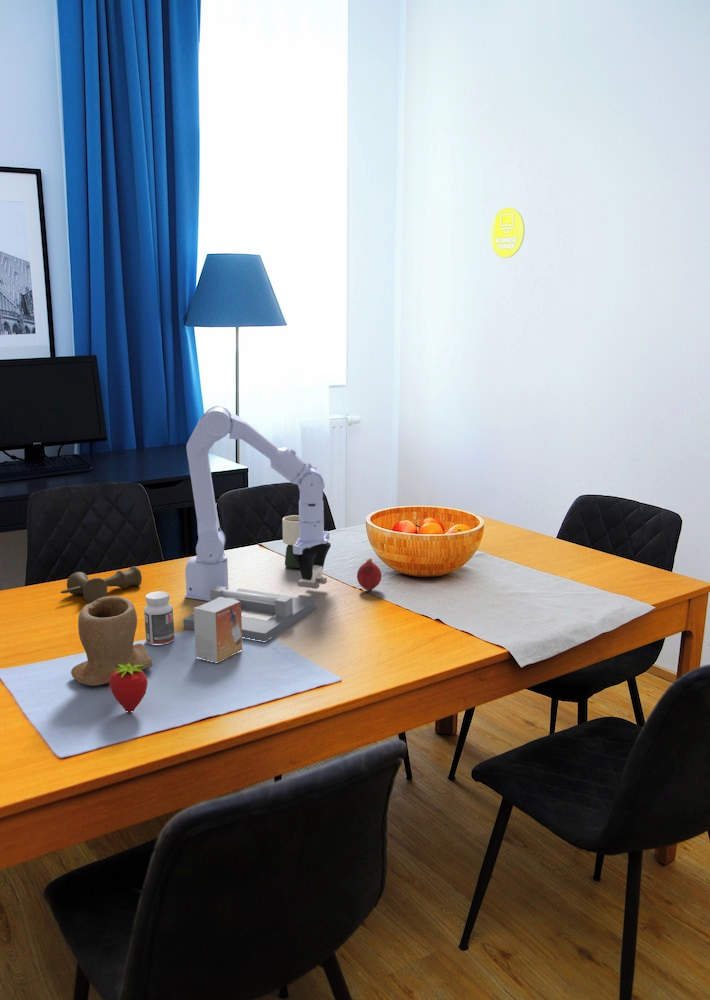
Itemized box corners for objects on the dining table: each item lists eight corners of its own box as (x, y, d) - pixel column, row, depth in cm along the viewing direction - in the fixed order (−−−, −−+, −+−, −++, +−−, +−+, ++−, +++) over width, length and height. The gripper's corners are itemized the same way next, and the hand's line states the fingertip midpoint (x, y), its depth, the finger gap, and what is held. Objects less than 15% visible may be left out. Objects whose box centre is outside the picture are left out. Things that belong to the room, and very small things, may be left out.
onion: (379, 595, 208) (379, 562, 206) (354, 594, 209) (354, 561, 208) (383, 587, 214) (383, 555, 212) (359, 586, 215) (359, 554, 213)
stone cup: (94, 698, 156) (88, 617, 153) (63, 678, 165) (57, 601, 161) (169, 673, 166) (165, 597, 163) (136, 655, 175) (132, 582, 171)
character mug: (320, 569, 229) (320, 519, 226) (298, 574, 224) (297, 524, 221) (295, 559, 237) (294, 512, 234) (273, 564, 233) (272, 516, 230)
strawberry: (135, 699, 156) (131, 645, 153) (157, 714, 150) (153, 658, 148) (103, 710, 152) (99, 655, 149) (125, 725, 146) (121, 668, 144)
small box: (217, 665, 170) (214, 612, 168) (194, 659, 173) (192, 607, 170) (243, 651, 177) (241, 600, 174) (221, 645, 179) (219, 595, 177)
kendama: (149, 591, 214) (71, 609, 201) (128, 583, 221) (51, 600, 207) (148, 567, 213) (69, 583, 200) (127, 560, 220) (50, 575, 206)
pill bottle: (179, 637, 183) (177, 592, 181) (165, 648, 178) (162, 600, 176) (155, 634, 185) (152, 589, 183) (140, 644, 180) (137, 598, 178)
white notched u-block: (297, 586, 210) (297, 569, 209) (308, 579, 214) (307, 563, 213) (316, 588, 207) (316, 572, 207) (326, 582, 212) (326, 566, 211)
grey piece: (183, 628, 189) (182, 602, 188) (239, 596, 208) (238, 573, 207) (265, 642, 180) (264, 616, 179) (315, 608, 200) (315, 584, 199)
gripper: (311, 529, 199) (312, 587, 202) (340, 515, 212) (340, 569, 215) (284, 525, 202) (285, 583, 205) (314, 512, 215) (314, 566, 218)
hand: (312, 576), depth 210 cm, fingers closed on white notched u-block, 5 cm apart
